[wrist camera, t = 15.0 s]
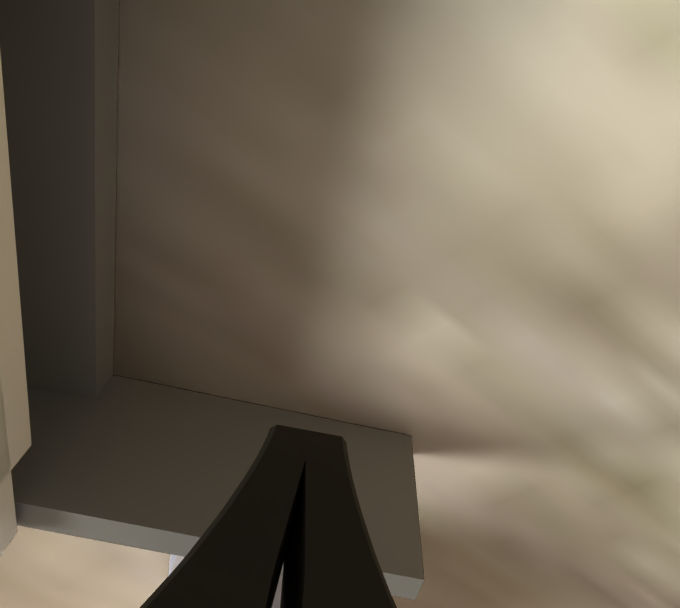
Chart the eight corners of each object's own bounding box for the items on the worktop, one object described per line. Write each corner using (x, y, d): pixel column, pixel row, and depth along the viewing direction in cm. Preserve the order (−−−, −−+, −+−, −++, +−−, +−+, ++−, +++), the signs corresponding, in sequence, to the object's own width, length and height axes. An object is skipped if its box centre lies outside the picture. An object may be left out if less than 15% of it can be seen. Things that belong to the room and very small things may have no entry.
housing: (404, 454, 22) (415, 600, 17) (-249, 322, 21) (-475, 432, 15) (592, -63, 14) (741, -118, 8) (-484, -338, 12) (-1179, -626, 7)
